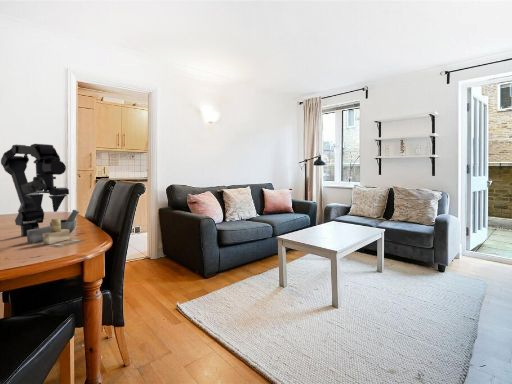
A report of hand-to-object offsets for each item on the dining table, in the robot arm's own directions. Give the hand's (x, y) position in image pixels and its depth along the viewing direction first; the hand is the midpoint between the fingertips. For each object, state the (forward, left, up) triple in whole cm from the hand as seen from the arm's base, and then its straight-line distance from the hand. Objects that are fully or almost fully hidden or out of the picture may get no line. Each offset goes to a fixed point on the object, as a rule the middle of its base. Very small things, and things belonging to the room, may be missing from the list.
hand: (46, 211), depth 119 cm
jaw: (+10, -4, -11) cm, 15 cm away
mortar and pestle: (-2, +10, -13) cm, 17 cm away
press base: (+9, -4, -13) cm, 16 cm away
